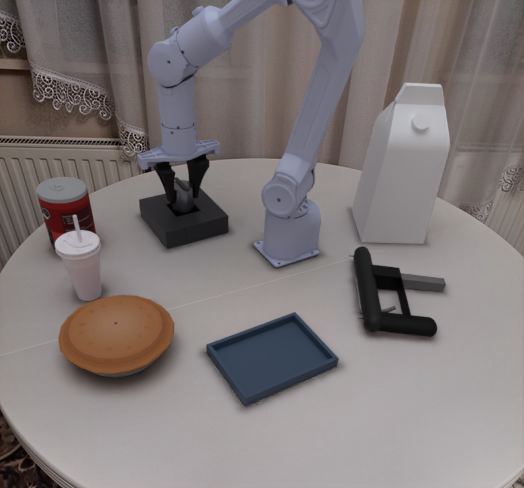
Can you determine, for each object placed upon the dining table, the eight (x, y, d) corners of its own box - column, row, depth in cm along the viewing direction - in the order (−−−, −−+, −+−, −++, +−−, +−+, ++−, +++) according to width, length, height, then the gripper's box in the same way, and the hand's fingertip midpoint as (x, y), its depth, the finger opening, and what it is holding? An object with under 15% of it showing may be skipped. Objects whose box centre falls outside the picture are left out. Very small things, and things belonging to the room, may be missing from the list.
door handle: (438, 254, 90) (349, 243, 89) (466, 332, 76) (360, 320, 75) (431, 269, 92) (344, 259, 91) (457, 347, 78) (354, 336, 77)
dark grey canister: (187, 210, 98) (185, 175, 93) (199, 223, 95) (198, 187, 90) (168, 215, 97) (165, 179, 91) (180, 229, 94) (177, 192, 88)
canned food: (62, 230, 93) (47, 173, 85) (105, 236, 92) (94, 179, 84) (44, 254, 87) (26, 196, 79) (89, 260, 87) (76, 202, 79)
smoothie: (100, 309, 78) (82, 230, 68) (61, 302, 79) (37, 223, 69) (116, 284, 83) (102, 207, 73) (79, 278, 83) (60, 200, 73)
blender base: (199, 201, 103) (198, 185, 100) (228, 232, 95) (228, 215, 93) (140, 215, 98) (138, 199, 95) (167, 249, 90) (165, 232, 88)
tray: (294, 319, 79) (295, 311, 78) (337, 366, 73) (339, 358, 71) (206, 352, 73) (206, 344, 72) (244, 406, 67) (245, 398, 65)
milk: (409, 212, 104) (449, 74, 86) (423, 243, 96) (471, 100, 78) (351, 210, 104) (379, 71, 85) (361, 242, 96) (394, 96, 77)
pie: (81, 310, 78) (74, 284, 74) (182, 316, 78) (180, 290, 75) (48, 386, 67) (38, 360, 64) (166, 393, 67) (162, 368, 64)
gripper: (206, 107, 88) (208, 180, 98) (126, 120, 82) (136, 196, 92) (226, 122, 84) (225, 197, 94) (142, 137, 78) (151, 215, 88)
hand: (182, 198), depth 93 cm, fingers closed on dark grey canister, 4 cm apart
